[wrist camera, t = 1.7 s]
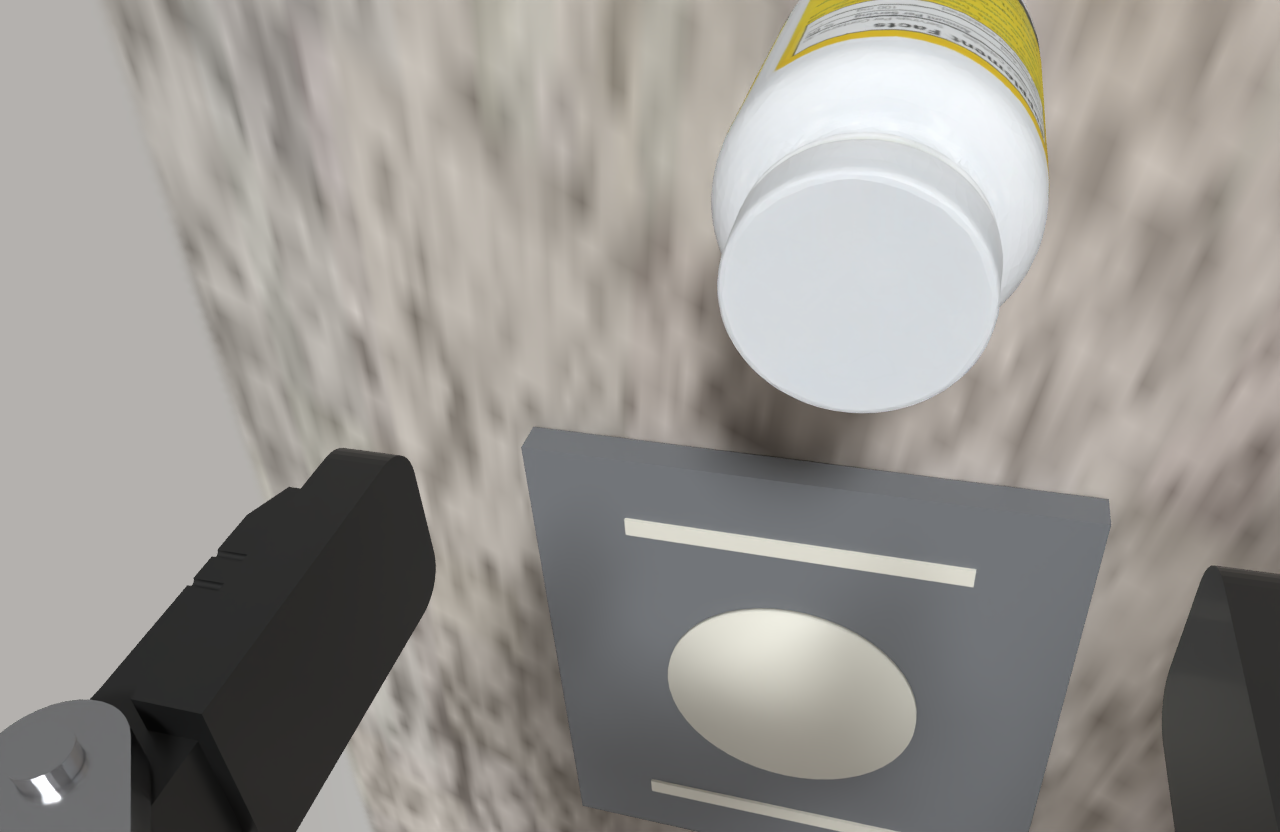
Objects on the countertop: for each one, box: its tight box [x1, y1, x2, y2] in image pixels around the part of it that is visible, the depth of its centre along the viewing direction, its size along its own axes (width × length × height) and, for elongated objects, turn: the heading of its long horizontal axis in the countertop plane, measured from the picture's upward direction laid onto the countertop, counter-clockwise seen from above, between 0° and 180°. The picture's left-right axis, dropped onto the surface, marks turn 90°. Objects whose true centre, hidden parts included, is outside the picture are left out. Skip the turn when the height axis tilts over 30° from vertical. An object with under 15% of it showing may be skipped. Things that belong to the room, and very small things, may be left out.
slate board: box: [521, 427, 1111, 832], centre depth 34 cm, size 16×18×1 cm
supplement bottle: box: [711, 0, 1049, 413], centre depth 19 cm, size 5×5×10 cm
